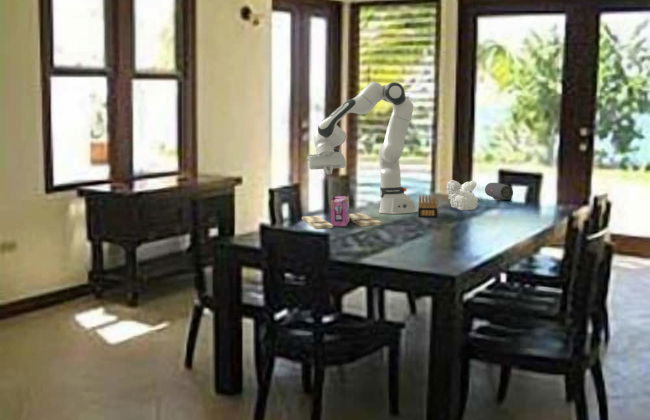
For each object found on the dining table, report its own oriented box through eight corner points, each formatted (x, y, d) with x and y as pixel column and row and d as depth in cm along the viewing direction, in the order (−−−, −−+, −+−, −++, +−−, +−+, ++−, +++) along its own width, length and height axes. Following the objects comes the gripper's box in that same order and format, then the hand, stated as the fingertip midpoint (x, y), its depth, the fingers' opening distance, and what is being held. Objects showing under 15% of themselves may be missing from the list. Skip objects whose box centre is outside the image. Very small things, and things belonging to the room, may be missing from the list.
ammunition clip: (438, 217, 474) (438, 194, 473) (437, 217, 472) (437, 195, 471) (419, 217, 478) (418, 194, 477) (418, 217, 477) (417, 194, 475)
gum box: (346, 226, 451) (345, 199, 449) (330, 227, 452) (330, 200, 450) (349, 220, 475) (349, 194, 473) (335, 220, 475) (334, 195, 474)
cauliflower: (468, 195, 492) (447, 174, 505) (454, 224, 502) (434, 203, 515) (493, 194, 502) (472, 174, 515) (479, 222, 512) (459, 202, 525)
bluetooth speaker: (483, 198, 557) (483, 182, 556) (497, 197, 560) (497, 181, 558) (499, 201, 536) (499, 185, 534) (514, 201, 538) (513, 184, 537)
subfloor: (363, 215, 491) (363, 212, 491) (381, 224, 452) (381, 221, 452) (301, 219, 485) (301, 216, 485) (315, 228, 446) (315, 225, 446)
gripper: (307, 151, 490) (311, 170, 482) (343, 149, 494) (348, 168, 486) (305, 158, 495) (310, 178, 487) (342, 156, 499) (346, 176, 491)
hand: (329, 173), depth 487 cm, fingers closed
